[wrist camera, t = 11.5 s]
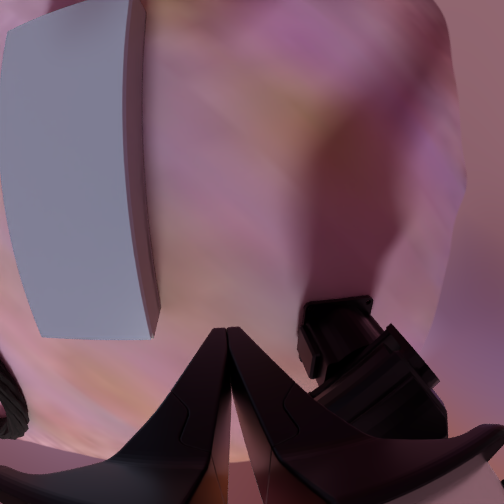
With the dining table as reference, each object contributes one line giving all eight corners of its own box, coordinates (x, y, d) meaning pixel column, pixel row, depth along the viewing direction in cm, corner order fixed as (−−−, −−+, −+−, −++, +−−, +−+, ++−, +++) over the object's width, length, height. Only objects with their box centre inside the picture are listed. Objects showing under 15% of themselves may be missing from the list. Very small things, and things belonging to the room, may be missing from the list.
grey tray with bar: (146, 12, 14) (134, -11, 11) (160, 308, 23) (153, 338, 19) (40, 40, 13) (15, 28, 10) (66, 309, 22) (48, 335, 18)
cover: (133, -5, 11) (130, -10, 10) (152, 332, 19) (150, 339, 18) (13, 34, 10) (7, 31, 9) (45, 331, 18) (41, 337, 17)
